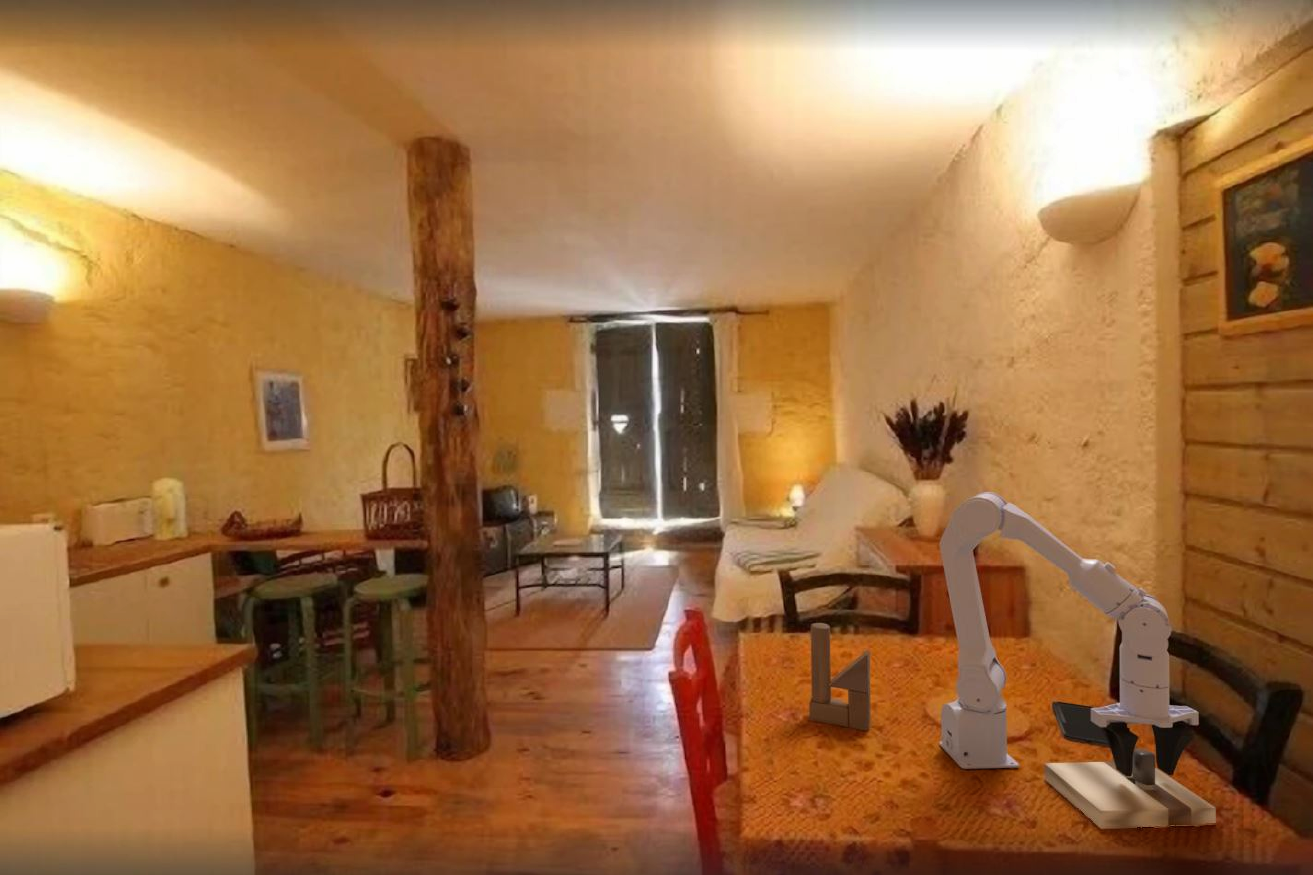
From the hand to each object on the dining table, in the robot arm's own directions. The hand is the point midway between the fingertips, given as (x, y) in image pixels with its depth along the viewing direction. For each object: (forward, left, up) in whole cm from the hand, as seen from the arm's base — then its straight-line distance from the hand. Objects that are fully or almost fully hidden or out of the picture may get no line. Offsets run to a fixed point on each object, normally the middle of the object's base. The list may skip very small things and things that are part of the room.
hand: (1144, 772), depth 90 cm
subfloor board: (-3, 0, -4) cm, 5 cm away
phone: (+7, +23, -5) cm, 25 cm away
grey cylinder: (0, 0, -4) cm, 4 cm away
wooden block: (-37, +26, -4) cm, 45 cm away
